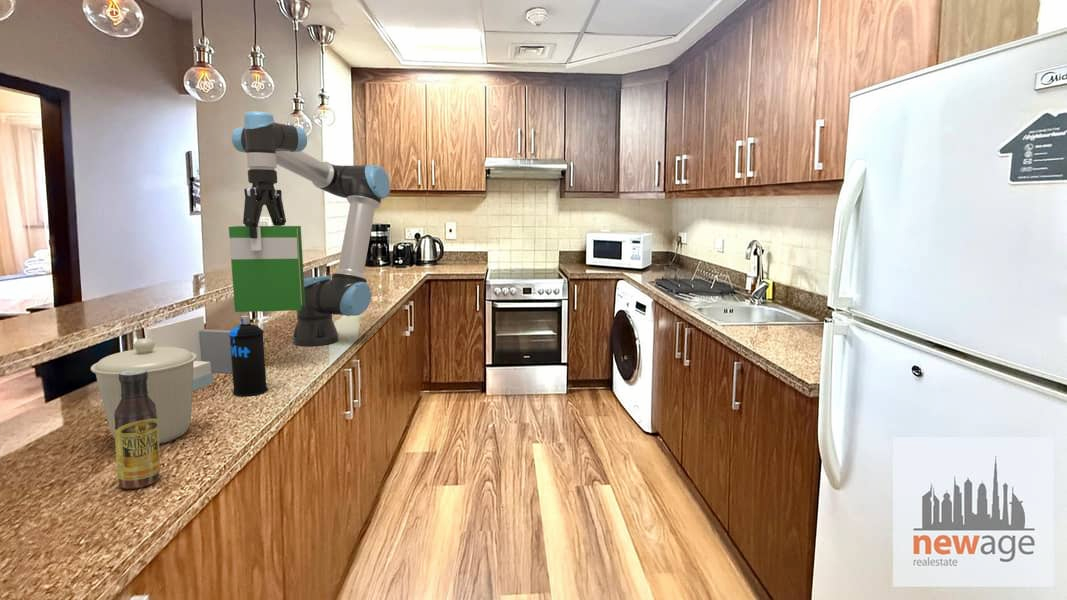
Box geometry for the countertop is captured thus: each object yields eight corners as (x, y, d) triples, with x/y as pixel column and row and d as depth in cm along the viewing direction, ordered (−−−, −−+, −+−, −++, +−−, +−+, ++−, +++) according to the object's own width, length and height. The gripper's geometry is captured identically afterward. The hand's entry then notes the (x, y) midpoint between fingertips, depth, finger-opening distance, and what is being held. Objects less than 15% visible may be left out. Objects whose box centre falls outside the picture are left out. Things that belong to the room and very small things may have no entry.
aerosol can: (257, 385, 159) (251, 312, 156) (274, 390, 155) (269, 315, 152) (226, 392, 153) (220, 316, 150) (243, 398, 148) (237, 320, 145)
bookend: (208, 369, 175) (205, 329, 173) (241, 371, 173) (238, 330, 171) (202, 371, 172) (199, 331, 170) (236, 373, 170) (233, 332, 168)
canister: (222, 426, 130) (214, 331, 126) (152, 459, 112) (141, 351, 109) (154, 419, 134) (144, 327, 130) (76, 450, 116) (63, 346, 113)
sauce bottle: (124, 494, 99) (111, 379, 96) (114, 483, 103) (101, 372, 100) (168, 481, 103) (157, 371, 100) (156, 471, 108) (146, 365, 104)
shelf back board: (204, 369, 175) (199, 315, 172) (207, 369, 175) (203, 315, 172) (152, 388, 156) (147, 328, 154) (156, 388, 156) (151, 328, 154)
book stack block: (178, 380, 163) (176, 359, 162) (213, 382, 161) (211, 361, 160) (154, 389, 155) (151, 367, 154) (190, 392, 153) (188, 369, 152)
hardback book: (305, 306, 178) (300, 226, 175) (300, 310, 171) (296, 226, 167) (242, 307, 175) (236, 226, 171) (235, 312, 168) (228, 226, 164)
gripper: (273, 171, 178) (277, 246, 182) (223, 166, 157) (230, 251, 160) (296, 171, 177) (300, 246, 180) (249, 166, 155) (255, 252, 159)
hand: (267, 248), depth 170 cm, fingers closed on hardback book, 9 cm apart
